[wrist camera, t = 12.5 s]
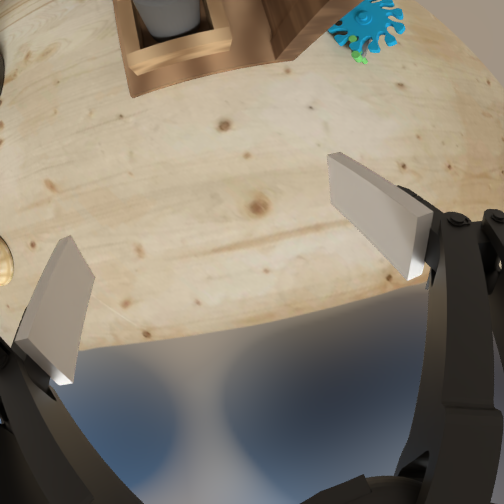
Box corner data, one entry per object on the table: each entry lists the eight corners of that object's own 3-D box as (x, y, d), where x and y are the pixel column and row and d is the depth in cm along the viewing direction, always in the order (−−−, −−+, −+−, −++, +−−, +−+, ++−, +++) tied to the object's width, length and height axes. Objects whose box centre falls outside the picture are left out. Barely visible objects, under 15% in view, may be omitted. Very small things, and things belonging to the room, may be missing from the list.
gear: (336, -16, 24) (410, -4, 19) (351, 6, 29) (418, 21, 24) (311, 46, 29) (389, 66, 24) (330, 64, 33) (398, 85, 29)
